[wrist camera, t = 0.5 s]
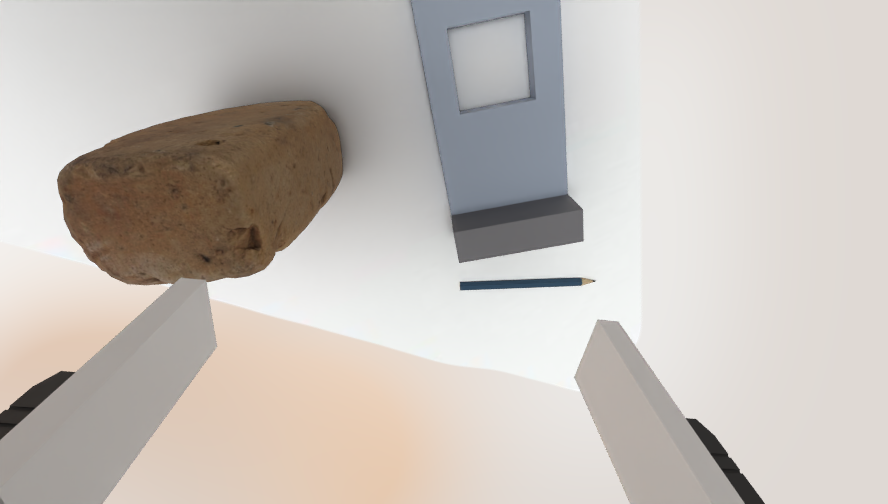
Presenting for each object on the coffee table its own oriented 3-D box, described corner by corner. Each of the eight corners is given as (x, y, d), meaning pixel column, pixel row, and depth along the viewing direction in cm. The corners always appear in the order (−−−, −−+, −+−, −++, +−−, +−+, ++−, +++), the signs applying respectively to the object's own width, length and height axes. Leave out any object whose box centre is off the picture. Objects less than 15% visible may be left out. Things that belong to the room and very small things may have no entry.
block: (341, 97, 33) (235, 143, 15) (352, 181, 37) (276, 299, 19) (215, 100, 33) (-40, 151, 15) (238, 185, 36) (52, 306, 19)
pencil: (459, 280, 42) (594, 275, 42) (459, 288, 43) (593, 283, 43) (460, 284, 42) (597, 279, 42) (460, 292, 42) (596, 287, 42)
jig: (407, -20, 30) (402, -38, 24) (550, -52, 29) (577, -77, 24) (455, 235, 39) (459, 263, 34) (562, 215, 39) (583, 241, 33)
